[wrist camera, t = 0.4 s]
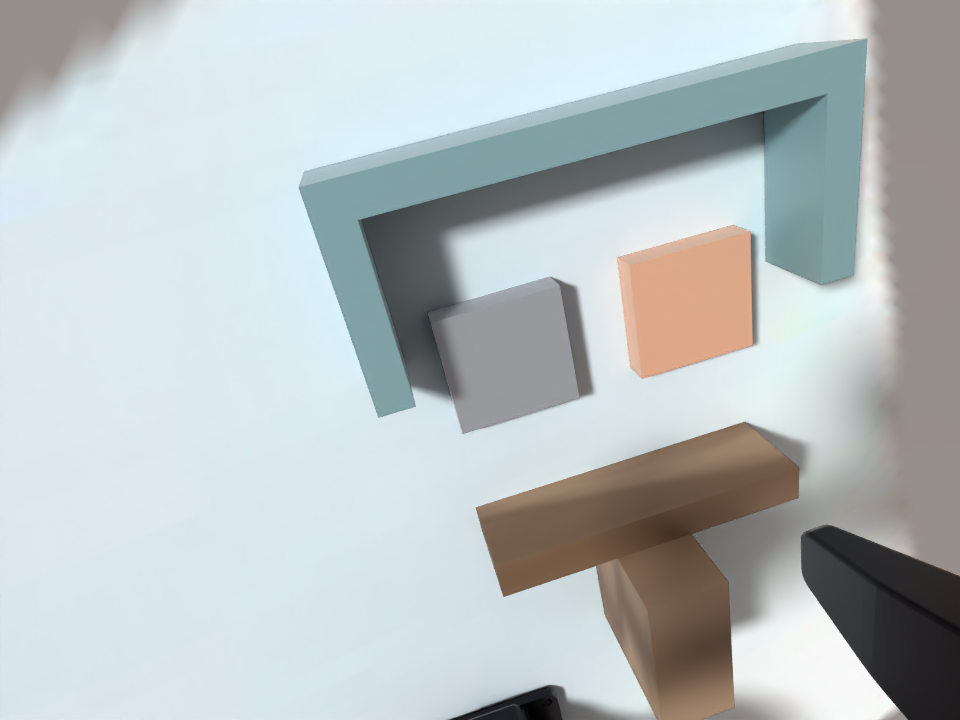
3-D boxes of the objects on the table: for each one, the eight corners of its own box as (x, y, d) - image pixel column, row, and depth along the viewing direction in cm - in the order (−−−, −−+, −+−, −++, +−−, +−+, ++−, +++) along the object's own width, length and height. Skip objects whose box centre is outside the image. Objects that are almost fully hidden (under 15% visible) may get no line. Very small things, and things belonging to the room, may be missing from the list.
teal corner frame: (794, 252, 23) (853, 275, 21) (373, 376, 22) (378, 417, 19) (797, 43, 20) (867, 38, 18) (304, 171, 19) (298, 187, 16)
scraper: (748, 565, 30) (837, 670, 25) (514, 645, 29) (555, 773, 24) (744, 421, 26) (848, 508, 21) (475, 507, 25) (512, 622, 20)
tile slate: (566, 380, 24) (579, 398, 23) (456, 414, 24) (462, 434, 22) (546, 272, 22) (559, 285, 21) (425, 307, 22) (431, 322, 20)
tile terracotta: (730, 331, 25) (752, 345, 23) (625, 362, 24) (641, 378, 23) (726, 222, 23) (750, 230, 21) (612, 254, 22) (629, 265, 21)
